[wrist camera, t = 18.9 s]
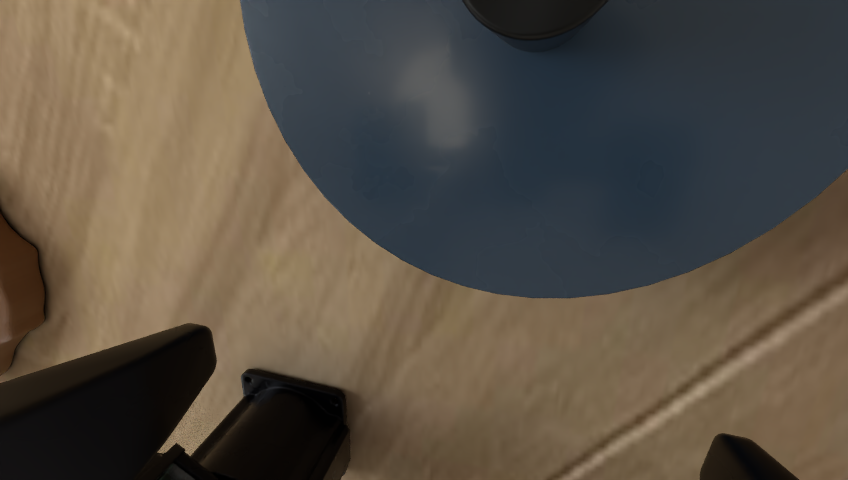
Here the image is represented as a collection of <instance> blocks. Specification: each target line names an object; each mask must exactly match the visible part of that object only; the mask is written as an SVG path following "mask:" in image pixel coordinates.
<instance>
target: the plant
mask: <svg viewBox="0 0 848 480" xmlns="http://www.w3.org/2000/svg"><path fill="white" fill-rule="evenodd" d="M44 301H45V291H44V285H43V282H42V279H41V276H40V272H39V265H38V252H37V250H36V248H35V247H33V246H32V245H31V244H29V243H28V242H27V241H25V240H24V239H22V238H21V237H20V236H19V235H18V234H17V233H16V232H15V231H13V230H12V229H11V227H10V226H9V225H8V224H7V222H6V221H5V219H4V218H3V217H2V215H1V213H0V375H2V374H3V373H5V372H6V371H7V370H8V368H9V367H10V365H11V362H12V359H13V354H14V350H15V348H16V346H17V345H18V343H19V342H20V341H21V340H22V338H23V337H24V336H25V335H26V334H27V332H29V331H31V330H33V329H35V328H37V327H38V326H40V325H41V324H42V323H43V322H44V320H45V315H44V310H43V306H44Z"/></svg>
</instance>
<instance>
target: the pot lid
mask: <svg viewBox="0 0 848 480" xmlns="http://www.w3.org/2000/svg"><path fill="white" fill-rule="evenodd" d="M240 3H241V9H242V16H243V22H244V29H245V33H246V37H247V41H248V45H249V49H250V53H251V57H252V60H253V64H254V68H255V71H256V74H257V77H258V80H259V82H260V85H261V88H262V90H263V93H264V96H265V99H266V101H267V104H268V107H269V109H270V111H271V113H272V115H273V117H274V119H275V121H276V123H277V125H278V127H279V129H280V131H281V133H282V135H283V137H284V139H285V141H286V143H287V144H288V146H289V148H290V149H291V151H292V152H293V154H294V155H295V157H296V159H297V160H298V162H299V163H300V165H301V167H302V168H303V170H304V171H305V172H306V174H307V175H308V176H309V178H310V179H311V180H312V181H313V183H314V184H315V185H316V186H317V188H318V189H319V190H320V191H321V193H322V194H323V195H324V197H325V198H326V199H327V200H328V201H329V202H330V203H331V204H332V205H333V206H334V207H335V208H336V209H337V210H338V211H339V212H340V213H341V214H342V215H343V216H344V217H345V218H346V219H347V220H348V221H349V222H350V223H351V224H353V225H354V226H355V227H356V228H357V229H359V230H360V231H361V232H362V233H364V234H365V235H366V236H367V237H369V238H370V239H371V240H372V241H373V242H375V243H376V244H378V245H379V246H381V247H382V248H384V249H386V250H387V251H389V252H390V253H392V254H393V255H395V256H397V257H398V258H400V259H401V260H403V261H405V262H407V263H409V264H411V265H413V266H415V267H417V268H419V269H421V270H423V271H425V272H427V273H429V274H431V275H434V276H437V277H440V278H442V279H445V280H448V281H451V282H454V283H456V284H459V285H462V286H465V287H470V288H474V289H478V290H483V291H487V292H491V293H495V294H502V295H511V296H519V297H528V298H576V297H585V296H595V295H604V294H611V293H615V292H620V291H625V290H629V289H634V288H638V287H643V286H648V285H651V284H654V283H657V282H660V281H663V280H666V279H669V278H672V277H675V276H678V275H681V274H684V273H687V272H690V271H692V270H694V269H696V268H699V267H701V266H703V265H705V264H707V263H710V262H712V261H714V260H716V259H719V258H721V257H723V256H725V255H727V254H730V253H732V252H733V251H735V250H737V249H738V248H740V247H742V246H744V245H745V244H747V243H749V242H751V241H752V240H754V239H756V238H757V237H759V236H761V235H763V234H764V233H766V232H768V231H769V230H771V229H773V228H774V227H776V226H777V225H778V224H780V223H781V222H783V221H784V220H785V219H787V218H788V217H789V216H791V215H792V214H794V213H795V212H796V211H798V210H799V209H800V208H802V207H803V206H805V205H806V204H807V203H809V202H810V201H811V200H813V199H814V198H816V197H817V196H818V195H819V194H820V193H821V192H822V191H823V190H825V189H826V188H827V187H828V186H829V185H830V184H831V183H832V182H833V181H835V180H836V179H837V178H838V177H839V176H840V175H841V174H842V173H844V172H845V171H846V170H847V169H848V0H240Z"/></svg>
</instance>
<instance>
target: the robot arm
mask: <svg viewBox="0 0 848 480" xmlns="http://www.w3.org/2000/svg"><path fill="white" fill-rule="evenodd" d="M216 362H217V360H216V353H215V348H214V342H213V337H212V332H211V330H210V329H209V328H208V327H206V326H202V325H198V324H192V323H187V324H184V325H181V326H177V327H174V328H171V329H168V330H165V331H162V332H159V333H156V334H152V335H149V336H146V337H143V338H140V339H137V340H134V341H131V342H127V343H124V344H121V345H118V346H115V347H112V348H109V349H106V350H102V351H99V352H96V353H93V354H90V355H87V356H84V357H81V358H77V359H74V360H71V361H68V362H65V363H62V364H59V365H56V366H52V367H49V368H46V369H43V370H40V371H37V372H34V373H31V374H27V375H24V376H21V377H18V378H15V379H12V380H9V381H6V382H2V383H0V480H341V477H342V476H343V475H344V474H345V472H346V470H347V468H348V463H349V461H350V429H349V427H348V425H347V421H346V397H345V395H344V393H343V392H341V391H340V390H337V389H333V388H329V387H325V386H320V385H316V384H312V383H308V382H304V381H300V380H295V379H291V378H287V377H283V376H279V375H275V374H270V373H266V372H262V371H258V370H254V369H247V370H246V371H245V372H244V373H243V374H242V376H241V381H242V388H243V394H244V397H243V398H242V400H241V401H240V402H239V403H238V404H237V405H236V406H235V407H234V408H233V409H232V411H231V412H230V413H229V414H228V415H227V416H226V417H225V418H224V419H223V421H222V422H221V423H220V424H219V425H218V426H217V427H216V428H215V429H214V430H213V432H212V433H211V434H210V435H209V436H208V437H207V438H206V439H205V440H204V442H203V443H202V444H201V445H200V446H199V447H198V448H197V449H196V450H195V452H194V453H193V454H192V455H191V456H189V455H188V454H187V453H185V452H184V451H185V449H184V448H183V447H181V446H180V445H179V444H177V443H176V444H175V445H174V446H173V447H172V448H170V449H169V450H168V451H167V452H166V453H164V454H163V453H157V452H158V451H159V449H160V448H161V447H162V445H163V444H164V443H165V442H166V440H167V439H168V437H169V436H170V435H171V433H172V432H173V431H174V429H175V428H176V426H177V425H178V423H179V422H180V420H181V419H182V417H183V416H184V415H185V413H186V412H187V410H188V409H189V407H190V406H191V404H192V403H193V401H194V400H195V399H196V397H197V396H198V394H199V393H200V391H201V390H202V388H203V387H204V385H205V384H206V383H207V381H208V380H209V378H210V377H211V375H212V374H213V372H214V370H215V367H216ZM335 398H336V399H335ZM700 480H799V479H798V478H797V477H795V476H794V475H793V474H792V473H791V472H789V471H788V470H787V469H786V468H785V467H783V466H782V465H781V464H780V463H779V462H778V461H776V460H775V459H774V458H773V457H772V456H770V455H769V454H768V453H767V452H766V451H764V450H763V449H762V448H761V447H760V446H758V445H757V444H756V443H755V442H753V441H752V440H750V439H748V438H744V437H739V436H734V435H730V434H725V433H721V434H718V435H717V436H715V438H714V440H713V442H712V444H711V446H710V449H709V451H708V454H707V456H706V458H705V461H704V463H703V465H702V468H701V471H700Z"/></svg>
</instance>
